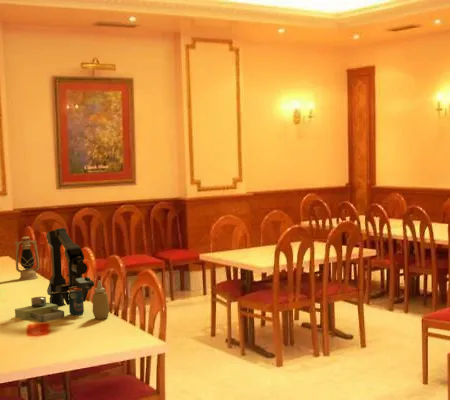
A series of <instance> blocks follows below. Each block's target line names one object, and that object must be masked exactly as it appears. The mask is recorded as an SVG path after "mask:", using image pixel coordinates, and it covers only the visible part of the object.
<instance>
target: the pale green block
mask: <svg viewBox="0 0 450 400" xmlns="http://www.w3.org/2000/svg"><path fill="white" fill-rule="evenodd" d="M30 300H31V305H29V306H23V307H19V308H14V316H15V318H18V319H21V320H25V321H26V320H32V319H31V312H33V313H37V314H41V315H45V314H50V313H51V308H54V309H58V310H59V306H58V305H56V304H52V303H50V302H47V297H46V296H35V297H31V298H30Z"/></svg>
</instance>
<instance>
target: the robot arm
mask: <svg viewBox="0 0 450 400" xmlns="http://www.w3.org/2000/svg"><path fill="white" fill-rule="evenodd" d="M45 237H46V240H47V244H48V245H49V246H50V252H51V255H50V256H51V272H52V274H51V277H50V278H49V284H48V287H47V290H46V292H47V293H46V294H47V295H49V303H52V304H56V305H58V307H62V306H66V305H67V306H69V292H70V290H73V289H77V288H78V289H81V291H82V293H83V303H85V302H86V300H87V297H88V293H89V291H90V290H91V289H93V287H95V282H94V280H91V277H90V276H87V277H83V275H84V274H86V273H87V272H88V265H87V264H86V263H85V262H84V261H85V254H84V253H83V250H82V248H81V247H80V246H79V245H78V244H77V243H74V242H73V240H72V239H71V237H70V236H69V234H68V232H67V230H66V228H63V227H60V228H56V229H54V230H48V232H47V233H46V235H45ZM61 247H63V248H64V256H65V259H66V262H67V270H68V273H67V275H66V276H67V277H68V282H66V278H64V276H63V275H62V273H63V272H62V254H61V253H62V251H61Z"/></svg>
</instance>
